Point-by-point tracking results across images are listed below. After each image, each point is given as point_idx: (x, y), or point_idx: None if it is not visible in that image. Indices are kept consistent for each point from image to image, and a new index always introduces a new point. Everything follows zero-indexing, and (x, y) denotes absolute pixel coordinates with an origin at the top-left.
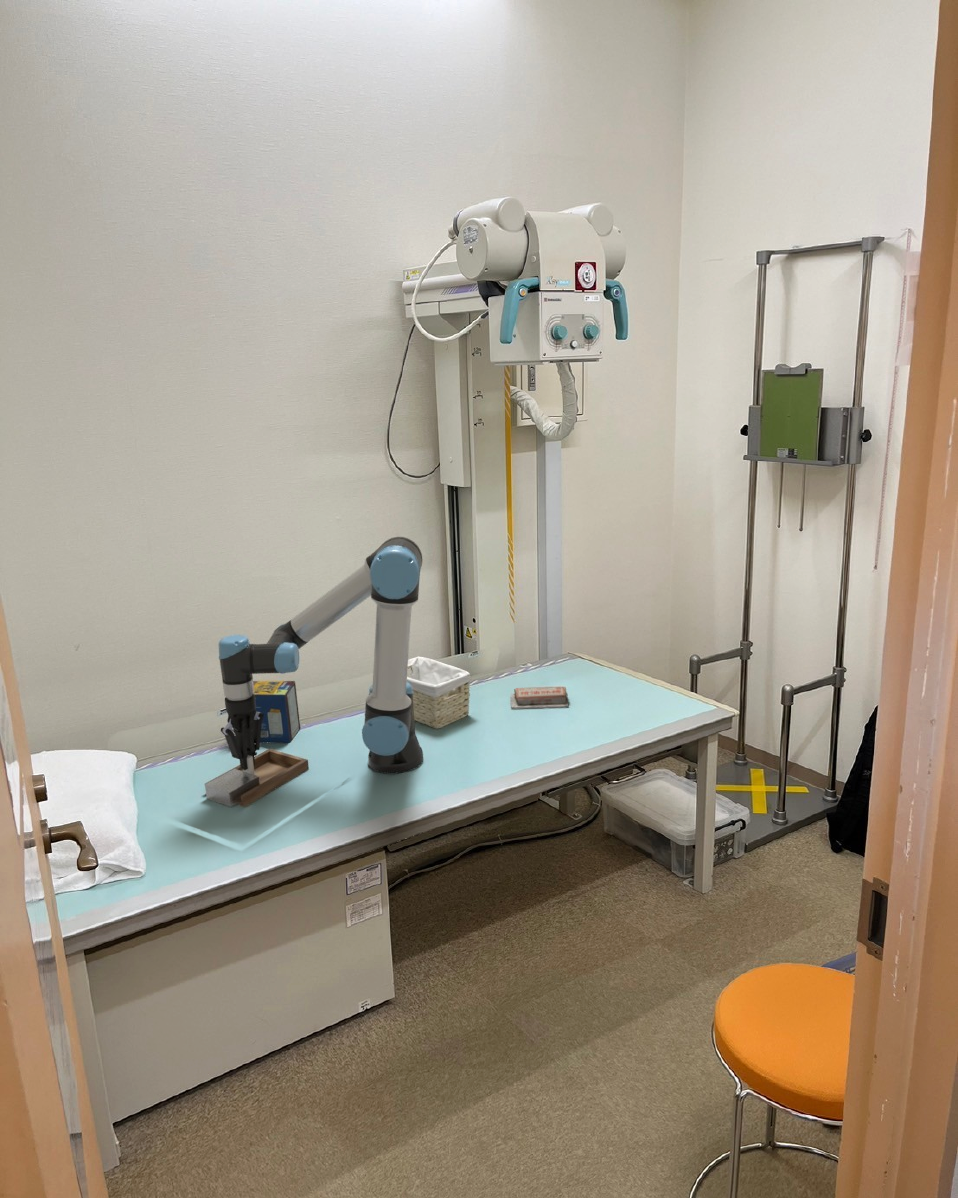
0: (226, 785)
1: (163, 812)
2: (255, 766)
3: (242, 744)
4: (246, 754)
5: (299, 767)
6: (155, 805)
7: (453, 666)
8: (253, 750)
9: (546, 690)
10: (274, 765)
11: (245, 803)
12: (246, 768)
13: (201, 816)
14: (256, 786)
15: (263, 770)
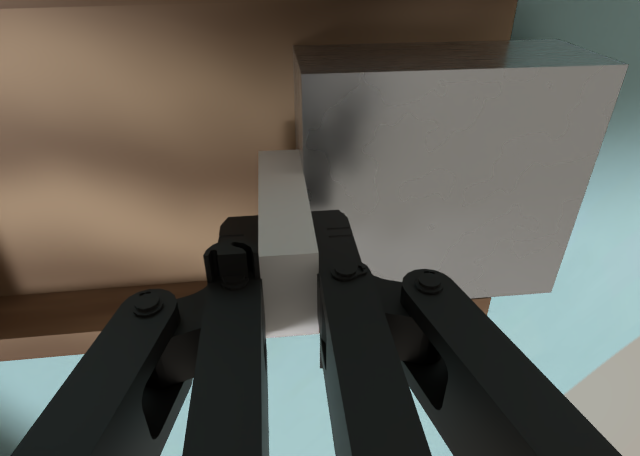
0: (525, 177)
1: (619, 304)
2: (117, 296)
3: (412, 409)
4: (338, 289)
5: None
6: (574, 362)
7: None
8: (227, 299)
9: None
10: (5, 234)
11: None
12: (323, 215)
13: (625, 143)
14: (331, 54)
15: (100, 238)
